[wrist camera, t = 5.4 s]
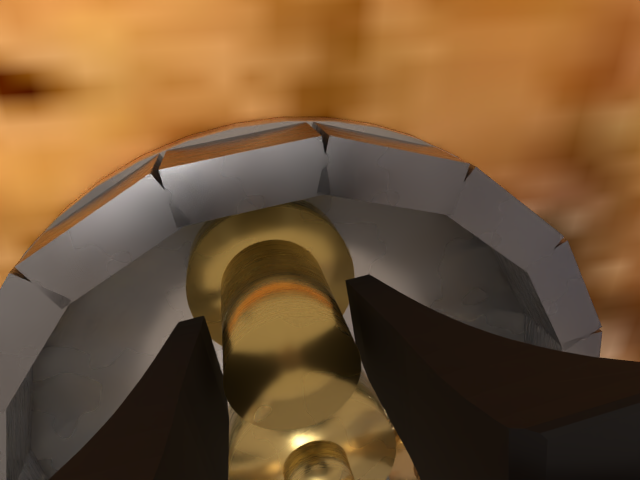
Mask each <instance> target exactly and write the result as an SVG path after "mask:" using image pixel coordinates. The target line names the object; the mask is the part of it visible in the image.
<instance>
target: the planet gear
mask: <svg viewBox="0 0 640 480" xmlns="http://www.w3.org/2000/svg"><path fill="white" fill-rule="evenodd" d="M352 278H354V266H353V261H352V257H351V255H350V252H349V249H348V248H347V246H346V244H345V242H344V240H343V239H342V237H341V236H340V234H339V232H338V231H337V229H336V228H335V226H334V225H333V223H332V222H331V221H330V219H329V218H328V217H327V216H326V215H325V214H324V213H323V212H322V211H321V210H319V209H318V208H317V207H315V206H314V205H312V204H311V203H309V202H307V201H305V200H303V199H302V200H298V201H293V202H289V203H285V204H280V205H276V206H271V207H267V208H262V209H258V210H254V211H249V212H245V213H240V214H236V215H231V216H227V217H223V218H218V219H214V220H209V221H206V222H205V223H204V224H203V226H202V227H201V228H200V230H199V231H198V233H197V235H196V237H195V239H194V241H193V244H192V246H191V250H190V254H189V259H188V268H187V276H186V297H187V301H188V306H189V309H190V311H191V314H192V316H193V318H196V317H200V316H205V319H206V323H207V326H208V329H209V332H210V335H211V339H212V340H213V341H215V342H216V343H218V344H219V345H221V346H222V354H223V387H224V392H225V396H226V398H227V401H228V402H229V404H230V406H231V407H232V409H233V410H234V411H235V412H236V413H237V414H238V415H239V416H240V417H241V418H243V419H244V420H246V421H247V422H249V423H251V424H253V425H255V426H258V427H261V428H265V429H270V430H280V431H282V430H296V429H301V428H305V427H308V426H311V425H314V424H317V423H319V422H321V421H323V420H325V419H327V418H328V417H330V416H331V415H333V414H334V413H336V412H337V411H338V410H339V409H340V408H341V407H343V405H344V404H345V403H346V402H347V401H348V400H349V398H350V397H351V396H352V394H353V392H354V391H355V389H356V387H357V384H358V382H359V378H360V374H361V358H360V353H359V350H358V348H357V346H356V343H355V341H354V339H353V337H352V335H351V332H350V330H349V328H348V326H347V324H346V322H345V319H344V317H343V314H344V313H345V311H346V309H347V307H348V305H349V300H348V294H347V287H346V281H345V280H348V279H352Z"/></svg>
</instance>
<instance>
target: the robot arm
mask: <svg viewBox="0 0 640 480" xmlns="http://www.w3.org/2000/svg"><path fill="white" fill-rule="evenodd" d="M345 281H346V287H347V294H348V300H349V306H350V312H351V319H352V325H353V331H354V337H355V343H356V346H357V348H358V350H359V353H360V358H361V362H362V364H363V367H364V369H365V372H366V374H367V377H368V380H369V382H370V384H371V386H372V387H373V389H374V391H375V393H376V395H377V397H378V399H379V400H380V402H381V404H382V406H383V408H384V410H385V412H386V413H387V415H388V417H389V419H390V421H391V423H392V424H393V426H394V428H395V430H396V432H397V434H398V436H399V437H400V439H401V441H402V443H403V445H404V447H405V448H406V450H407V452H408V454H409V456H410V458H411V460H412V462H413V464H414V466H415V468H416V470H417V472H418V475H419V477H420V479H421V480H640V362H634V361H625V360H616V359H607V358H599V357H592V356H586V355H581V354H575V353H569V352H563V351H558V350H554V349H549V348H544V347H540V346H536V345H532V344H528V343H524V342H520V341H516V340H512V339H509V338H505V337H502V336H499V335H496V334H492V333H490V332H487V331H484V330H481V329H478V328H475V327H473V326H470V325H467V324H465V323H462V322H460V321H457V320H455V319H453V318H450V317H448V316H446V315H444V314H441V313H439V312H437V311H435V310H433V309H431V308H429V307H427V306H425V305H423V304H421V303H419V302H417V301H415V300H413V299H411V298H410V297H408V296H406V295H404V294H402V293H401V292H399V291H397V290H395V289H394V288H392V287H390V286H389V285H387V284H385V283H383V282H382V281H380V280H378V279H377V278H375V277H373V276H371V275H370V274H368V275H364V276H360V277H356V278H352V279H348V280H345ZM228 463H229V412H228V402H227V398H226V396H225V392H224V387H223V373H222V370H221V367H220V364H219V361H218V358H217V354H216V351H215V348H214V345H213V342H212V339H211V335H210V332H209V329H208V326H207V323H206V319H205V316H200V317H196V318H192V319H188V320H184V321H180V322H178V324H177V325H176V327H175V328H174V329H173V331H172V332H171V334H170V335H169V337H168V339H167V340H166V342H165V343H164V345H163V346H162V348H161V349H160V351H159V353H158V354H157V356H156V357H155V359H154V360H153V362H152V363H151V365H150V366H149V367H148V369H147V370H146V372H145V373H144V375H143V376H142V378H141V379H140V380H139V382H138V383H137V384H136V386H135V387H134V388H133V390H132V391H131V392H130V393H129V395H128V396H127V397H126V399H125V400H124V401H123V403H122V404H121V405H120V406H119V408H118V409H117V410H116V411H115V412H114V414H113V415H112V416H111V417H110V418H109V419H108V421H107V422H106V423H105V424H104V425H103V426H102V427H101V428H100V429H99V430H98V432H97V433H96V434H95V435H94V436H93V437H92V438H91V439H90V440H89V441H88V442H87V443H86V444H85V445H84V446H83V447H82V448H81V449H80V450H79V451H78V452H77V453H76V454H75V455H74V456H73V457H72V458H71V459H70V460H69V461H68V462H67V463H66V464H65V465H63V466H62V467H61V468H60V469H59V470H58V471H57V472H56V473H55V474H54V475H53V476H52V477H51V478H50V479H49V480H228Z"/></svg>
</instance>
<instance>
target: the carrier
mask: <svg viewBox="0 0 640 480" xmlns="http://www.w3.org/2000/svg"><path fill="white" fill-rule="evenodd" d="M302 199H303V200H305V201H307V202H309V203H311V204H312V205H314V206H315V207H317V208H318V209H319V210H321V211H322V212H323V213H324V214H325V215H326V216H327V217H328V218H329V219H330V221H331V222H332V223H333V225H334V226H335V228H336V229H337V231H338V232H339V234H340V236H341V237H342V239H343V240H344V242H345V244H346V246H347V248H348V249H349V252H350V255H351V257H352V261H353V266H354V278H356V277H360V276H364V275H368V274H370V275H371V276H373V277H375V278H377V279H378V280H380V281H382V282H383V283H385V284H387V285H389V286H390V287H392V288H394V289H395V290H397V291H399V292H401V293H402V294H404V295H406V296H408V297H410V298H411V299H413V300H415V301H417V302H419V303H421V304H423V305H425V306H427V307H429V308H431V309H433V310H435V311H437V312H439V313H441V314H444V315H446V316H448V317H450V318H453V319H455V320H457V321H460V322H462V323H465V324H467V325H470V326H473V327H475V328H478V329H481V330H484V331H487V332H490V333H492V334H496V335H499V336H502V337H505V338H509V339H512V340H516V341H520V342H524V343H528V344H532V345H536V346H540V347H544V348H549V349H554V350H558V351H563V352H569V353H575V354H581V355H586V356H592V357H600V347H601V338H602V331H601V330H600V329H599V328H601V327H602V326H601V324H600V321H599V319H598V316H597V314H596V311H595V309H594V306H593V304H592V301H591V299H590V296H589V294H588V291H587V289H586V286H585V283H584V281H583V278H582V276H581V273H580V271H579V268H578V266H577V263H576V261H575V258H574V256H573V253H572V251H571V248H570V246H569V243H568V241H567V240H566V239H564V238H563V237H564V236H563V235H562V234H560V233H559V232H558V231H557V230H555V229H554V228H553V227H552V226H550V225H549V224H548V223H546V222H545V221H544V220H543V219H541V218H540V217H539V216H538V215H536V214H535V213H534V212H533V211H531V210H530V209H529V208H527V207H526V206H525V205H524V204H522V203H521V202H520V201H519V200H517V199H516V198H515V197H514V196H512V195H511V194H510V193H508V192H507V191H506V190H505V189H503V188H502V187H501V186H500V185H498V184H497V183H496V182H495V181H493V180H492V179H491V178H489V177H488V176H487V175H486V174H484V173H483V172H482V171H481V170H479V169H478V168H477V167H475V166H473V165H471V164H470V163H467V162H465V161H463V160H461V159H460V158H458V157H456V156H454V155H452V154H450V153H448V152H446V151H444V150H442V149H440V148H437V147H435V146H433V145H431V144H429V143H427V142H424V141H422V140H420V139H418V138H416V137H413V136H411V135H409V134H405V133H402V132H398V131H395V130H392V129H388V128H385V127H381V126H378V125H374V124H371V123H364V122H357V121H350V120H343V119H336V118H329V117H279V118H271V119H264V120H256V121H249V122H241V123H234V124H230V125H227V126H223V127H219V128H216V129H212V130H208V131H205V132H201V133H197V134H194V135H190V136H187V137H184V138H182V139H180V140H177V141H175V142H173V143H170V144H168V145H165V146H163V147H161V148H158V149H156V150H154V151H151V152H149V153H146V154H144V155H142V156H140V157H139V158H137V159H135V160H134V161H132V162H130V163H129V164H127V165H125V166H124V167H122V168H120V169H118V170H117V171H115V172H113V173H112V174H110V175H108V176H107V177H105V178H103V179H102V180H100V181H99V182H98V183H97V184H95V185H94V186H93V187H92V188H90V189H89V190H88V191H87V192H85V193H84V194H83V195H82V196H80V197H79V198H78V199H77V200H75V201H74V202H73V203H72V204H71V205H69V206H68V207H67V208H66V209H65V210H64V211H63V212H62V213H61V214H60V215H59V216H58V217H57V218H56V219H55V220H54V221H53V223H52V224H51V225H50V226H49V227H48V228H47V229H46V230H45V231H44V232H43V233H42V234H41V235H40V237H39V238H38V239H37V240H36V241H35V242H34V243H33V244H32V245H31V247H30V248H29V249H28V250H27V251H26V252H25V254H24V255H23V256H22V258H21V259H20V261H19V262H18V263H17V264H16V266H15V267H14V268H13V269H12V270H11V271H10V273H9V274H8V276H7V278H6V280H5V281H4V283H3V285H2V287H1V289H0V480H49V479H50V478H51V477H52V476H53V475H54V474H55V473H56V472H57V471H58V470H59V469H60V468H61V467H62V466H63V465H65V464H66V463H67V462H68V461H69V460H70V459H71V458H72V457H73V456H74V455H75V454H76V453H77V452H78V451H79V450H80V449H81V448H82V447H83V446H84V445H85V444H86V443H87V442H88V441H89V440H90V439H91V438H92V437H93V436H94V435H95V434H96V433H97V432H98V430H99V429H100V428H101V427H102V426H103V425H104V424H105V423H106V422H107V421H108V419H109V418H110V417H111V416H112V415H113V414H114V412H115V411H116V410H117V409H118V408H119V406H120V405H121V404H122V403H123V401H124V400H125V399H126V397H127V396H128V395H129V393H130V392H131V391H132V390H133V388H134V387H135V386H136V384H137V383H138V382H139V380H140V379H141V378H142V376H143V375H144V373H145V372H146V370H147V369H148V367H149V366H150V365H151V363H152V362H153V360H154V359H155V357H156V356H157V354H158V353H159V351H160V349H161V348H162V346H163V345H164V343H165V342H166V340H167V339H168V337H169V335H170V334H171V332H172V331H173V329H174V328H175V327H176V325H177V324H178V322H180V321H184V320H188V319H192V318H193V316H192V314H191V311H190V309H189V306H188V301H187V297H186V276H187V268H188V259H189V254H190V250H191V246H192V244H193V241H194V239H195V237H196V235H197V233H198V231H199V230H200V228H201V227H202V226H203V224H204V223H205V222H206V221H209V220H214V219H218V218H223V217H227V216H231V215H236V214H240V213H245V212H249V211H254V210H258V209H262V208H267V207H271V206H276V205H280V204H285V203H289V202H293V201H298V200H302ZM343 317H344V319H345V322H346V324H347V326H348V328H349V330H350V332H351V335H352V337H353V339H354V341H355V337H354V331H353V325H352V319H351V312H350V306H349V305H348V307H347V309H346V311H345V313H344V314H343ZM212 342H213V345H214V348H215V351H216V354H217V358H218V361H219V364H220V367H221V370H222V373H223V354H222V346H221V345H219V344H218V343H216V342H215V341H213V340H212ZM227 402H228V401H227ZM228 412H229V463H228V480H421V479H420V477H419V475H418V472H417V470H416V468H415V466H414V464H413V462H412V460H411V458H410V456H409V454H408V452H407V450H406V448H405V447H404V445H403V443H402V441H401V439H400V437H399V436H398V434H397V432H396V430H395V428H394V426H393V424H392V423H391V421H390V419H389V417H388V415H387V413H386V412H385V410H384V408H383V406H382V404H381V402H380V400H379V399H378V397H377V395H376V393H375V391H374V389H373V387H372V386H371V384H370V382H369V380H368V377H367V374H366V372H365V369H364V367H363V364H362V362H361V374H360V378H359V382H358V384H357V387H356V389H355V391H354V392H353V394H352V396H351V397H350V398H349V400H348V401H347V402H346V403H345V404H344V405H343V407H341V408H340V409H339V410H338V411H337V412H336V413H334V414H333V415H331V416H330V417H328V418H327V419H325V420H323V421H321V422H319V423H317V424H314V425H311V426H308V427H305V428H301V429H296V430H282V431H280V430H270V429H265V428H261V427H258V426H255V425H253V424H251V423H249V422H247V421H246V420H244V419H243V418H241V417H240V416H239V415H238V414H237V413H236V412H235V411H234V410H233V409H232V407H231V406H230V404H229V402H228Z"/></svg>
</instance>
